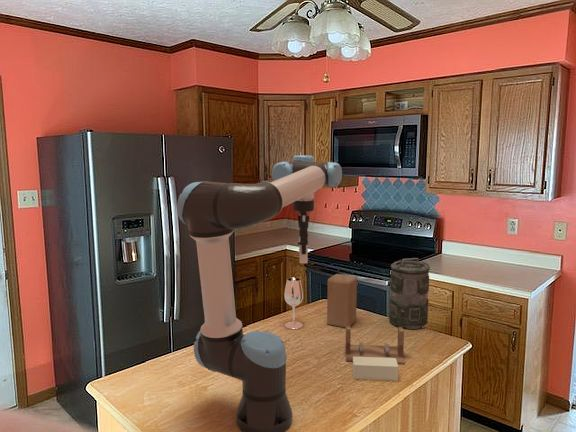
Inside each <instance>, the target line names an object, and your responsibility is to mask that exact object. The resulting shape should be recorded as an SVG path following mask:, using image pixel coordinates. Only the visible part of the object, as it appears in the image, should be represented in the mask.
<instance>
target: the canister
mask: <svg viewBox="0 0 576 432" xmlns="http://www.w3.org/2000/svg"><path fill="white" fill-rule="evenodd" d="M419 260H420V259H419V257H412V258H402V259H399V260H397V261H394V262H393V263H391V264H390V268H391V273H390V284H389V286H390V298H389V301H388V302H389V304H388V305H389V306H388V309H389V311H388V319H389V322H390V323H391V324H392V325H393V326H395V327H403V329H404V328H405V329H406V330H418V329H420V328H422V327H424V326H426V325H427V324H428V317H429V316H428V315H429V299H428V296H429V295H428V294H429V289H430V288H429V287H430V274H429V272H430V270H431V269H430V268H431V267H430V265H429V264H428V263H427V262H425V261H419Z"/></svg>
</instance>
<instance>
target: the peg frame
mask: <svg viewBox="0 0 576 432" xmlns="http://www.w3.org/2000/svg"><path fill="white" fill-rule="evenodd" d="M351 334H352V329H351V326H350V325H346V328H345V344H344V345H345V362H347V363H353V357H380V358H396V361H397V364H398V365H406V361H405V359H404V345H405V329H404V327H400V326H397V346H395V345H393V346H391V345H389V343H387V342H385V343H384V345H370V344H369V345H367V344H364V343H363V342H361V341H360V342H358V344H351V339H352V338H351Z"/></svg>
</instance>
